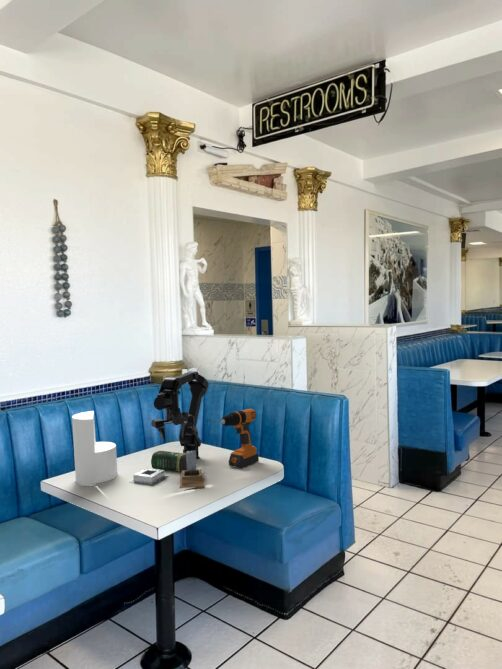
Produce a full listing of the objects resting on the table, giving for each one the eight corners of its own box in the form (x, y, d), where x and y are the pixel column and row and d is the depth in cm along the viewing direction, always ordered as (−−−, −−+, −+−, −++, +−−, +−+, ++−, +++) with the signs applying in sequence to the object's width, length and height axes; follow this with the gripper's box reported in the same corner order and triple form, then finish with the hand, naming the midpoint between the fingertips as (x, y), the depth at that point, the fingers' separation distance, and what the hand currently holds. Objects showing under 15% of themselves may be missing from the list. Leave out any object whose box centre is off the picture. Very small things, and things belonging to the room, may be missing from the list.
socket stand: (146, 475, 224) (146, 466, 224) (169, 478, 219) (169, 469, 219) (128, 484, 214) (128, 475, 213) (152, 488, 208) (152, 478, 208)
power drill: (230, 474, 222) (228, 417, 221) (218, 470, 227) (215, 415, 225) (261, 461, 239) (260, 407, 237) (249, 458, 244) (247, 406, 242)
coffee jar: (149, 470, 229) (185, 475, 221) (150, 452, 229) (185, 456, 222) (162, 466, 238) (197, 470, 230) (162, 449, 238) (197, 452, 230)
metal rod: (190, 478, 216) (189, 449, 216) (198, 479, 215) (197, 450, 214) (185, 481, 213) (184, 452, 212) (193, 482, 211) (192, 453, 210)
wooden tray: (180, 477, 221) (179, 467, 221) (203, 475, 222) (203, 466, 222) (179, 490, 205) (179, 480, 205) (204, 488, 206) (204, 478, 206)
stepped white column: (74, 488, 212) (70, 421, 210) (77, 474, 229) (73, 412, 227) (117, 482, 217) (114, 417, 215) (117, 470, 233) (113, 408, 231)
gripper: (159, 411, 220) (161, 447, 221) (199, 405, 229) (200, 439, 231) (150, 407, 229) (151, 441, 230) (188, 401, 239) (189, 434, 240)
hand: (173, 439), depth 232 cm, fingers open, 9 cm apart
